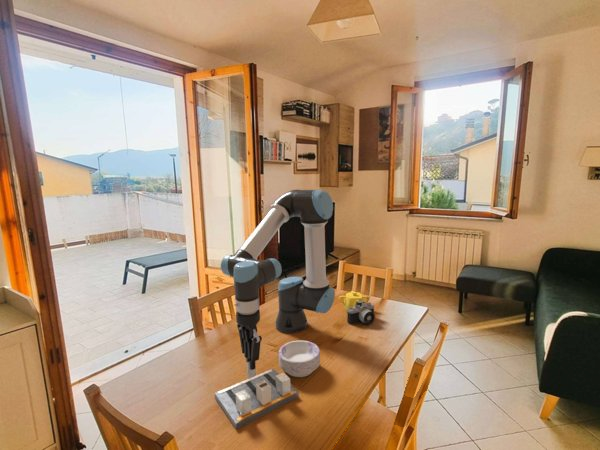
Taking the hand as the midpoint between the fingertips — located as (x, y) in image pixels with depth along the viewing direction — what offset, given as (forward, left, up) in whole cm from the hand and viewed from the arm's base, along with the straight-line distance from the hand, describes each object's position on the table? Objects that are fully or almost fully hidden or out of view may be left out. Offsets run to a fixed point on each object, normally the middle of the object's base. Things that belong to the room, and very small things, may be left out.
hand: (251, 376), depth 107 cm
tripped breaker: (+9, -1, -3) cm, 10 cm away
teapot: (-23, +72, -6) cm, 76 cm away
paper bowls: (0, +19, -6) cm, 20 cm away
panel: (+4, -1, -5) cm, 7 cm away
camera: (-12, +66, -6) cm, 67 cm away
